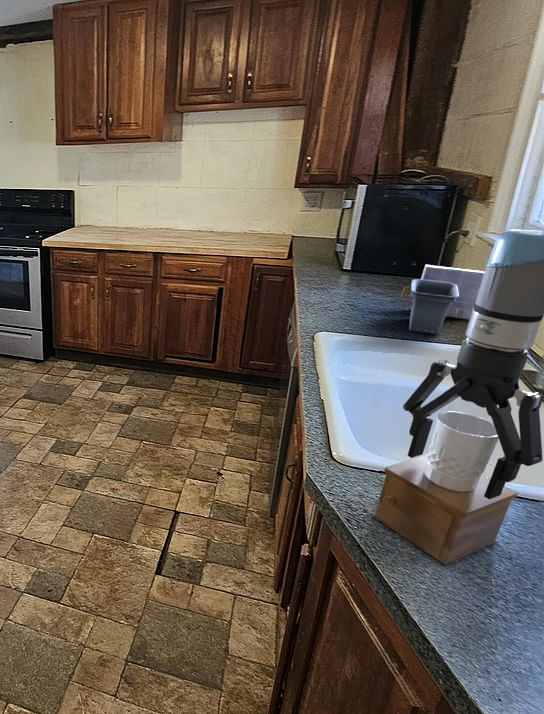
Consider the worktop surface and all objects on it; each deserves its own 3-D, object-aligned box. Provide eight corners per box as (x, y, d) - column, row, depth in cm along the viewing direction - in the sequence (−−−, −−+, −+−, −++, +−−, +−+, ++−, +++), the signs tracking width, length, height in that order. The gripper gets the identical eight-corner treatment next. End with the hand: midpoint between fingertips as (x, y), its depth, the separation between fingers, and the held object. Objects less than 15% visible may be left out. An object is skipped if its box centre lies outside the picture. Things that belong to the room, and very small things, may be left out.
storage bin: (447, 339, 173) (460, 296, 167) (393, 330, 180) (403, 289, 175) (445, 322, 189) (457, 283, 184) (395, 315, 197) (405, 277, 192)
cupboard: (497, 543, 84) (518, 492, 80) (441, 568, 79) (461, 515, 75) (420, 498, 94) (435, 451, 91) (366, 517, 89) (380, 468, 85)
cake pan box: (472, 317, 195) (487, 270, 189) (473, 320, 191) (489, 272, 185) (411, 309, 204) (423, 264, 198) (411, 312, 200) (424, 266, 194)
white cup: (435, 460, 88) (452, 407, 84) (489, 485, 82) (511, 428, 78) (409, 474, 84) (426, 419, 80) (464, 501, 78) (486, 442, 74)
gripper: (399, 322, 83) (367, 442, 91) (585, 379, 63) (522, 527, 71) (431, 316, 85) (397, 434, 94) (618, 370, 66) (553, 513, 74)
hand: (451, 474), depth 82 cm, fingers open, 11 cm apart
